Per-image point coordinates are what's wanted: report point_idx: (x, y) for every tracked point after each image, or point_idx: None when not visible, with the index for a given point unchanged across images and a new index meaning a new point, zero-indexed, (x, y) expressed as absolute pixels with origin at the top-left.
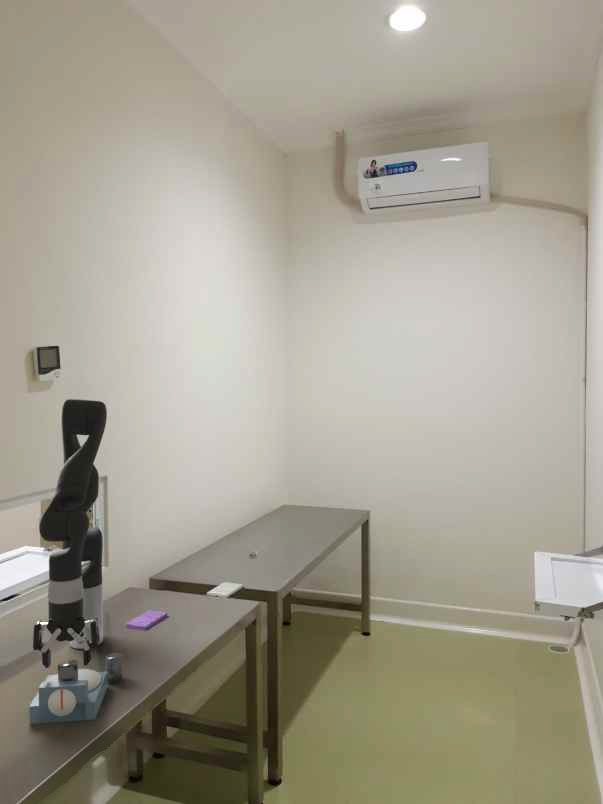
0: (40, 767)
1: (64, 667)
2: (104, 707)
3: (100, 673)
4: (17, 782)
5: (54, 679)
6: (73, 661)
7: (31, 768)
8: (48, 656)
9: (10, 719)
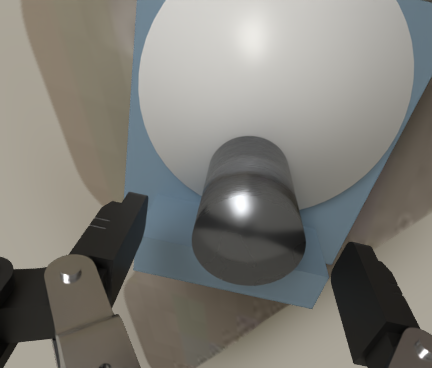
0: (194, 337)
1: (229, 276)
2: None
3: (422, 26)
4: (161, 355)
5: (183, 47)
6: (281, 227)
7: (178, 334)
8: (122, 275)
9: (76, 139)
